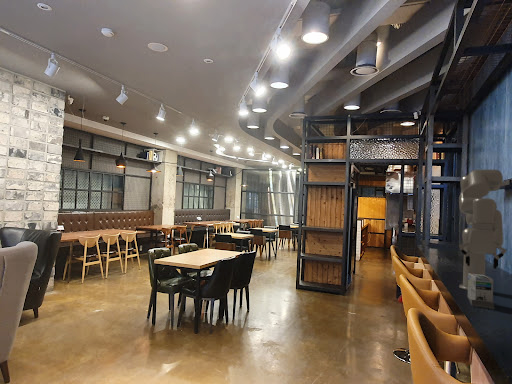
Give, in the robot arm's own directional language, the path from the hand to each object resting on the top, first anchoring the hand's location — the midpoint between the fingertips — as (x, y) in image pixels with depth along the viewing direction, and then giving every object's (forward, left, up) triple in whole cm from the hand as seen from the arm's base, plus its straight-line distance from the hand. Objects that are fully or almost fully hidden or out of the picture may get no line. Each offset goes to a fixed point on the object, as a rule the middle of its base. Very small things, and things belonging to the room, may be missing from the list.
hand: (481, 266), depth 151 cm
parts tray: (+1, 0, -16) cm, 16 cm away
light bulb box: (+1, 0, -15) cm, 15 cm away
